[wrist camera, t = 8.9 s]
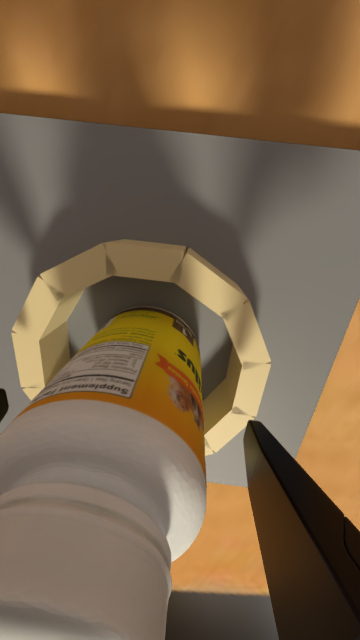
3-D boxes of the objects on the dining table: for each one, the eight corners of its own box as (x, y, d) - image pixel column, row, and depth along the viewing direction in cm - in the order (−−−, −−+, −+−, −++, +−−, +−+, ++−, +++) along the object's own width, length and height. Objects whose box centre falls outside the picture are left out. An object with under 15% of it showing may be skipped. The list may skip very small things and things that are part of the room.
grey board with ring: (392, 163, 10) (489, 132, 7) (276, 475, 18) (295, 534, 14) (-53, 117, 11) (-170, 66, 7) (14, 441, 18) (-28, 491, 15)
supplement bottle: (201, 391, 14) (214, 740, 4) (109, 390, 14) (-60, 711, 5) (200, 299, 12) (218, 585, 2) (92, 302, 12) (-250, 556, 3)
